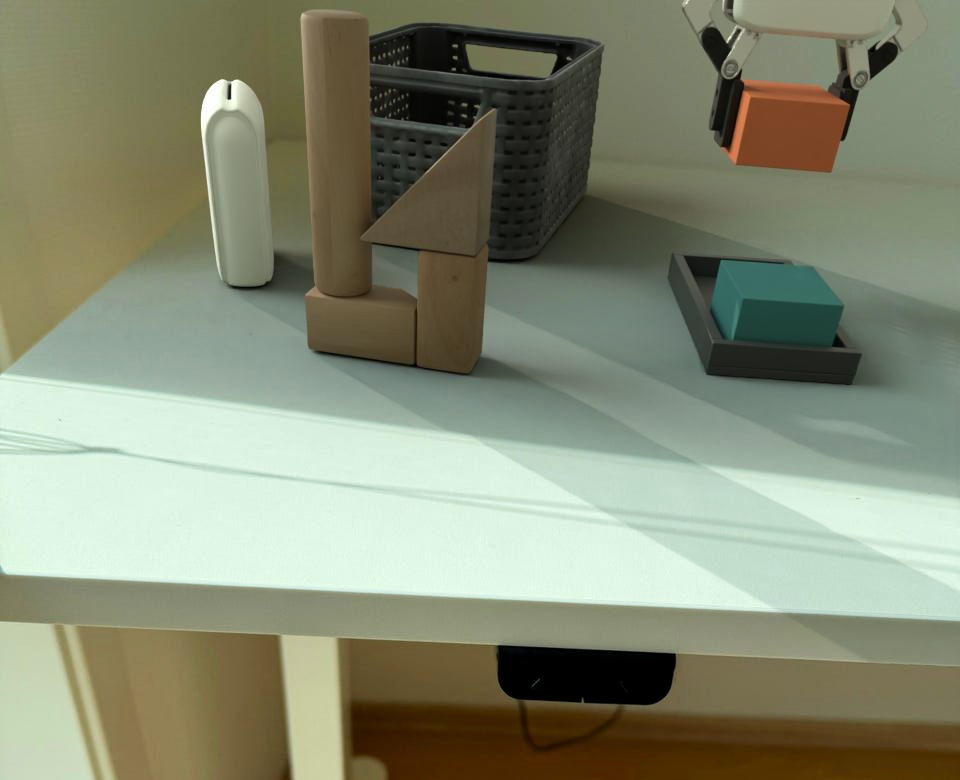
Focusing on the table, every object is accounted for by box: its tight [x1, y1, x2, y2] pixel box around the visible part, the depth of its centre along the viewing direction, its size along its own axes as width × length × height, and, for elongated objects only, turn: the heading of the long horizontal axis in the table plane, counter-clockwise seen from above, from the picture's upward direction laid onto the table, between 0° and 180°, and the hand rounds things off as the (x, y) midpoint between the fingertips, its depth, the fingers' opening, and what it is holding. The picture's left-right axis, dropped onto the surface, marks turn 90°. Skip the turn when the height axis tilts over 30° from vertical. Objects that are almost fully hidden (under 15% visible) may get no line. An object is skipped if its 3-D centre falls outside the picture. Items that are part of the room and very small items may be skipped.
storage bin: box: [369, 21, 606, 261], centre depth 83 cm, size 29×19×13 cm
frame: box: [666, 251, 863, 385], centre depth 67 cm, size 20×10×2 cm, turn 178°
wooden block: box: [300, 8, 497, 375], centre depth 54 cm, size 4×11×18 cm, turn 77°
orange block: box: [720, 78, 850, 174], centre depth 63 cm, size 6×8×4 cm
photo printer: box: [200, 78, 275, 287], centre depth 67 cm, size 10×4×12 cm, turn 11°
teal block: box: [710, 260, 845, 347], centre depth 62 cm, size 6×8×4 cm
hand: (773, 145), depth 64 cm, fingers closed on orange block, 6 cm apart
